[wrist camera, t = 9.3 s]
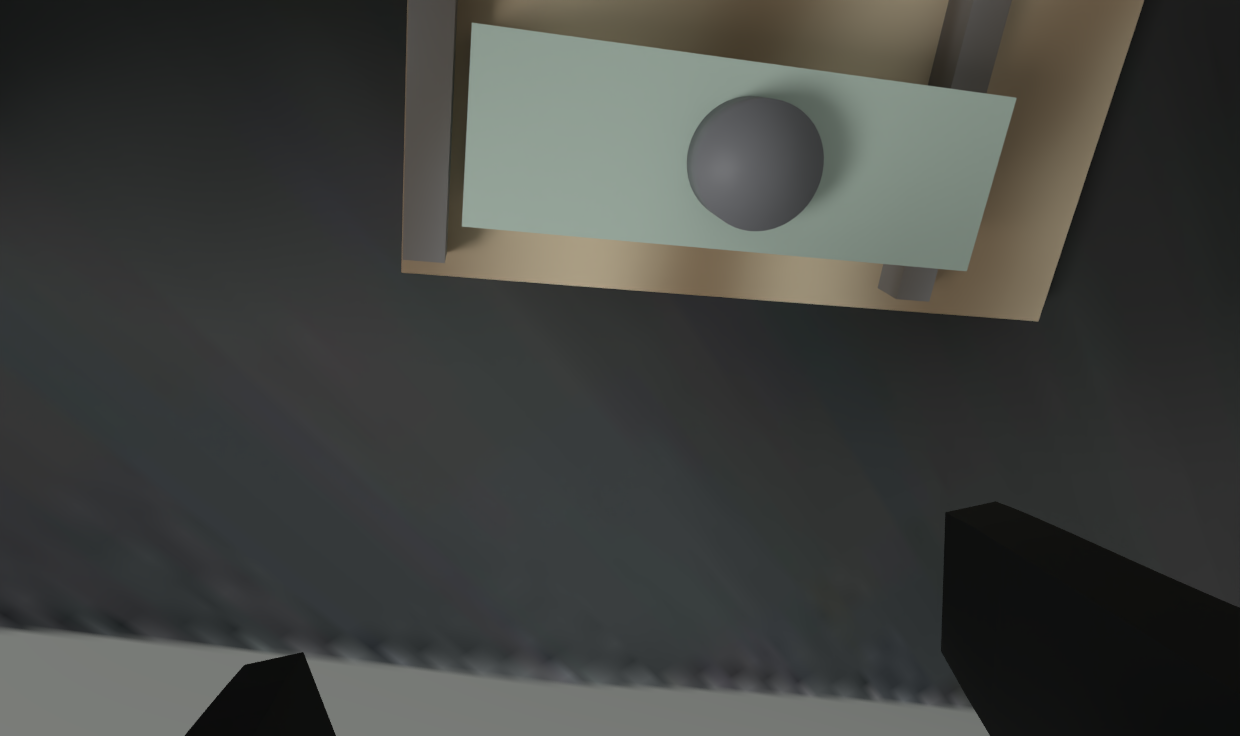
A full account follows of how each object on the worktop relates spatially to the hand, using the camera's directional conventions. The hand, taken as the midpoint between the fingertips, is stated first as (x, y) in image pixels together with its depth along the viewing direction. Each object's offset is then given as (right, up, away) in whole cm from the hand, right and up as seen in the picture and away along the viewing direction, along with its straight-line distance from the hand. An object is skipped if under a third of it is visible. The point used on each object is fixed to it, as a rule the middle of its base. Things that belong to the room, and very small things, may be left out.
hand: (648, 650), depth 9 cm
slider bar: (+1, +8, +7) cm, 11 cm away
